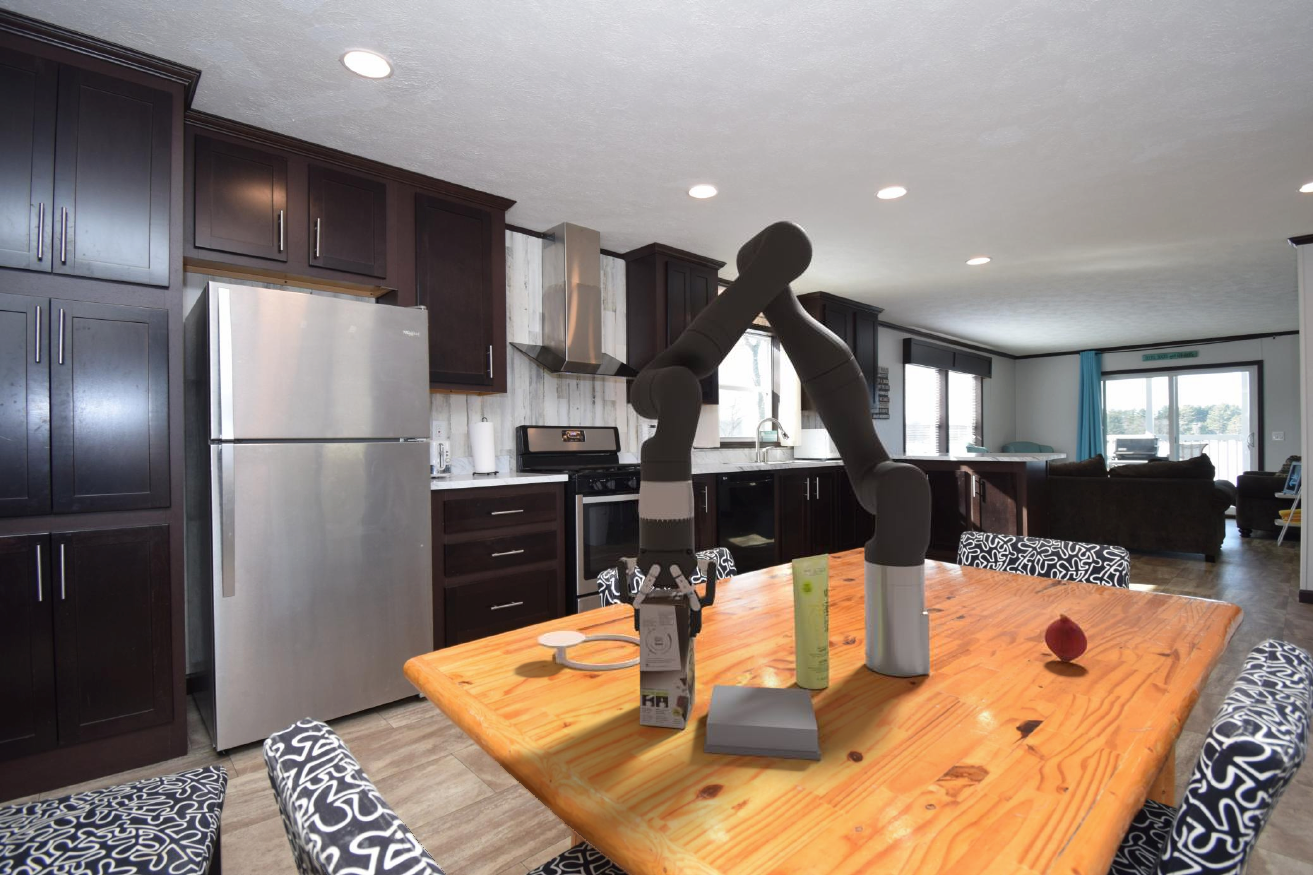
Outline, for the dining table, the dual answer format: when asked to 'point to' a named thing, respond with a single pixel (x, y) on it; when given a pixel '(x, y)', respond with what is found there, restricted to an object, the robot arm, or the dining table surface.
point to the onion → (1065, 639)
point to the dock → (762, 722)
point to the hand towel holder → (572, 639)
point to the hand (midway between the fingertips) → (668, 634)
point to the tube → (811, 620)
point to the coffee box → (666, 659)
